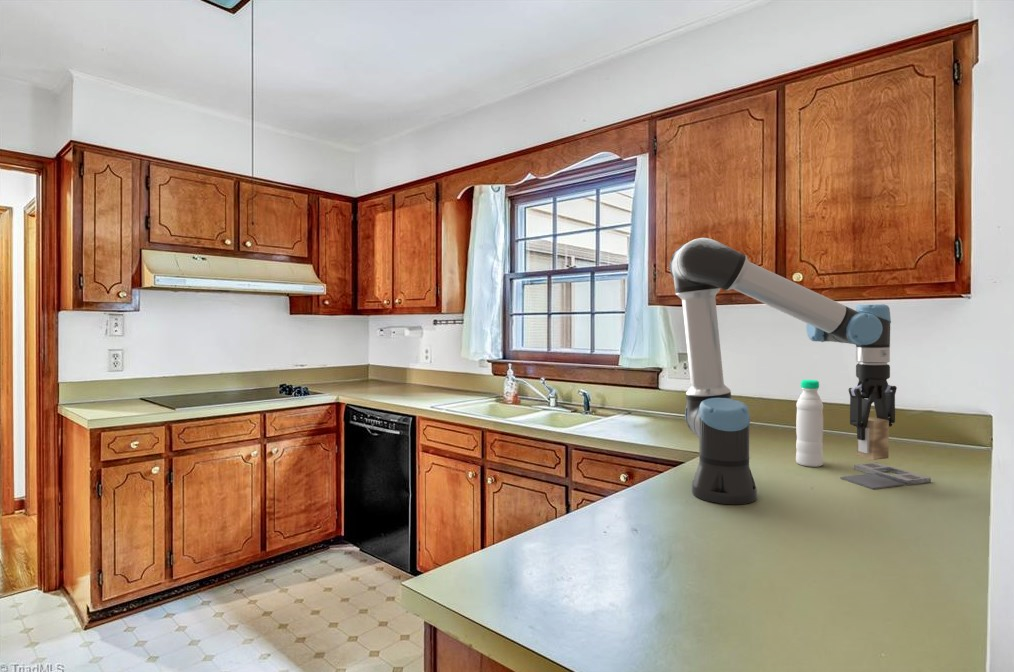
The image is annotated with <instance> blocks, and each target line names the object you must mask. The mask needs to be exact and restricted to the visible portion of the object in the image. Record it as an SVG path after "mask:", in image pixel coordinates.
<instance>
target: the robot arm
mask: <svg viewBox="0 0 1014 672" xmlns="http://www.w3.org/2000/svg"><path fill="white" fill-rule="evenodd" d="M669 271H670V275H671V277H672V278H673V282H674V291H675V292H674V293H675V295H676V296H677V297H678V298H680V300H681V305H682V313H683V321H684V322H683V323H684V332H685V342H686V344H685V345H686V351H687V361H688V362H687V363H688V373H689V380H690V381H689V382H690V386H689V388H688V389H687V390H686V392H685V399H686V407H685V411H684V417H685V422H686V424H687V427H688V429H689V430H690V431H691V433H693V434H694V435H695V436H696V437H697V438H698V440H699V442H698V443H699V447H698V448H699V449H698V452H699V454H698V455H699V457H698V458H699V461H698V466H697V468H696V470H695V471H696V472H695V475H694V478H693V481H692V482H691V493H692V494H693V496H695V497H697V498H698V499H700V498H701V499H700V500H703V501H707V502H710V501H711V503H714V502H715V503H716V504H720V505H721V504H722V505H746V504H751V503H753V502H755V501H756V500H757V499H758V489H757V486H756V483H755V479H754V476H753V474H752V470H751V468H750V423H751V416H750V410H749V407H748V406H747V404H746V403H744V402H743V401H741V400H737V399H736V400H735V399H734V398H732V391H731V390H732V389H730V388H729V387H727V386H726V385H725V382H724V373H723V371H724V370H723V362H722V353H721V350H722V349H721V342H720V333H719V332H720V331H719V322H718V311H717V310H718V309H717V302H716V295H717V294H718V293H719V292H720V291H721V289H722V290H724V291H731V290H734V291H736V292H738V293H740V294H743V295H745V296H747V297H750V298H751V299H753V300H755V301H758V302H760V303H762V304H765V305H767V306H769V307H771V308H773V309H776V310H777V311H780V312H782V313H784V314H786V315H789V316H790V317H793V318H794V319H797V320H799V321H801V322H804V323H806V326H805V327H806V328H805V329H806V334H807V337H808V339H809V340H810V341H812V342H821V343H825V342H834V343H841V344H844V343H845V344H848V345H849V344H850V345H854V346H855V361H856V362H858V363H856V365H855V376H856V378H858V381H857V385H856V386H855V387H849V388H848V392H849V393H848V394H849V424H850V425H852V426H853V427H856V440H857V439H858V451H860V452H864V453H869V428H866V427H867V423H868V419H869V417H870V414H871V408H872V404H873V405H874V409H875V416H876V418H880V419H885V420H889V428H890V427H893V424H895V423H896V393H897V388H898V387H897V386H896V385H892V384H891V385H890V384H889V383H888V379H889V378H891V366H890V364H888V363H890V362H891V360H890V359H891V355H890V354H891V350H890V349H891V323H892V321H891V318H892V317H891V311H890V307H889V305H887V304H883V303H881V304H859V305H857V306H856V308H855V309H853V308H850V307H848V306H846V305H844V304H842V303H840V302H838V301H835V300H834V299H831V298H829V297H828V296H827V297H826V296H825V295H823V294H820V293H818V292H815V290H812V289H809V288H807V287H805V286H803V285H801V284H799V283H796V282H794V281H793V280H790V279H788V278H785V277H784V276H782V275H779V274H777V273H775V272H773V271H771V270H769V269H766V268H764V267H762V266H759V265H757V264H755V263H753V262H751V261H749V260H748V255H746V254H744V253H742V252H740V251H737V250H735V249H734V248H731V247H730V246H728V245H726V244H724V243H722V242H719V241H717V240H715V239H712V238H709V237H699V238H695V239H693V240H690V241H689V242H687V243H684V244H682V245H680V246H679V247H678V248H677V249H676V250H675V251H674V253H673V254H672V256H671V259H670V263H669ZM861 422H862V423H861Z"/></svg>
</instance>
